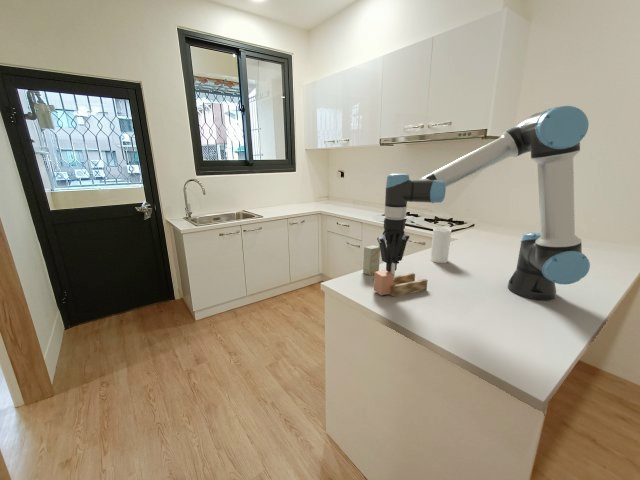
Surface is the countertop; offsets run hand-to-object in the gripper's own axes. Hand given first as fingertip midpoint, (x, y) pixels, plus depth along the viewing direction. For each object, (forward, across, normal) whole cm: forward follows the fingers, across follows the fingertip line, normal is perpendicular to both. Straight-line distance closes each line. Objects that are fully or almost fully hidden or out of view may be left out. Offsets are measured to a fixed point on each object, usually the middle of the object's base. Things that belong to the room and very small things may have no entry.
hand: (390, 278), depth 112 cm
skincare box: (+6, -4, -20) cm, 21 cm away
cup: (+6, -45, -21) cm, 50 cm away
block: (+5, +3, 0) cm, 6 cm away
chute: (+5, -6, 0) cm, 8 cm away
